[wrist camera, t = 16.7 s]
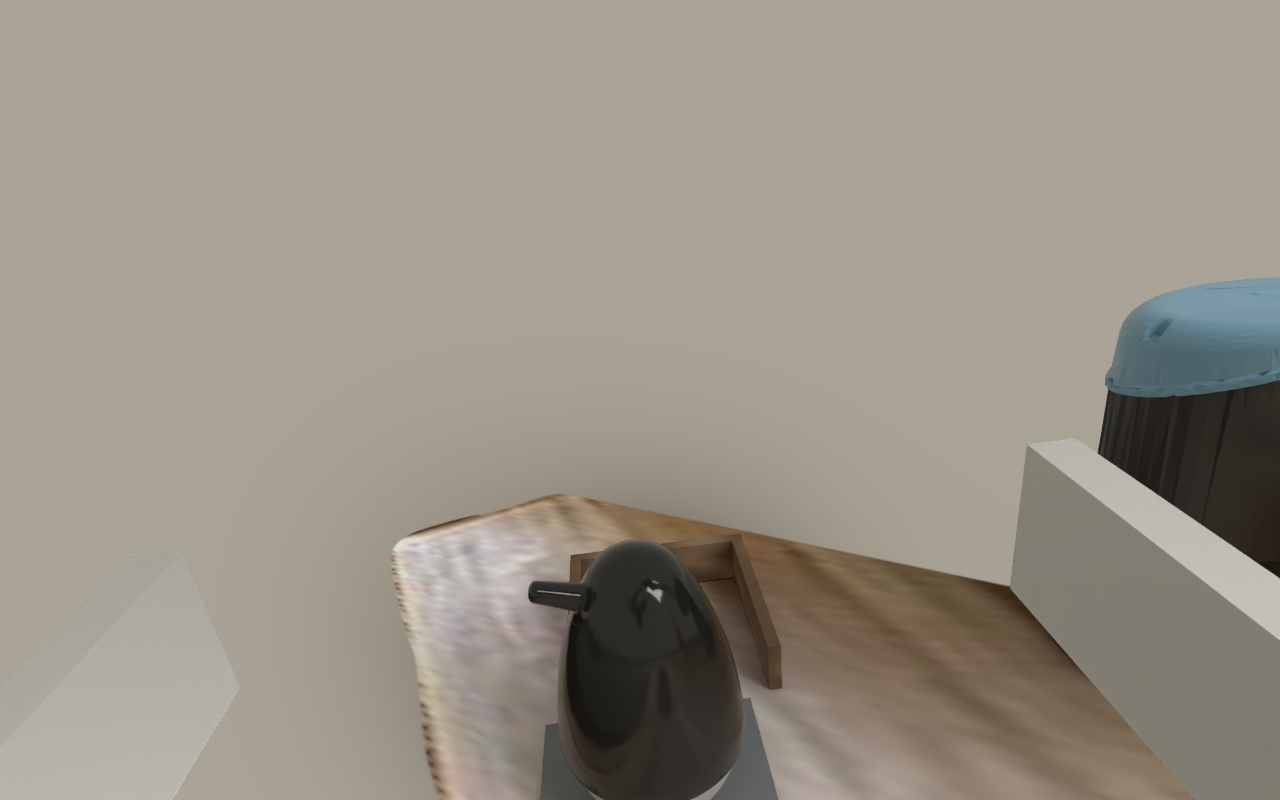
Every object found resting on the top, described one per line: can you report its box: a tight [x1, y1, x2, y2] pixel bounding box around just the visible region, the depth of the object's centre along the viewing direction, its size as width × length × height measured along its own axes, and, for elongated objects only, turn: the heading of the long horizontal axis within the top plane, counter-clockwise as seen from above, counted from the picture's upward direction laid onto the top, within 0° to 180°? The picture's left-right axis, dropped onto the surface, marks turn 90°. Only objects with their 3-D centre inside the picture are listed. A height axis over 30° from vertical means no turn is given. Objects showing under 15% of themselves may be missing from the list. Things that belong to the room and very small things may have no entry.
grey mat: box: [541, 698, 778, 800], centre depth 41 cm, size 13×9×1 cm
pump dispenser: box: [528, 539, 745, 800], centre depth 38 cm, size 10×10×15 cm
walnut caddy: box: [569, 534, 782, 689], centre depth 51 cm, size 14×13×4 cm
